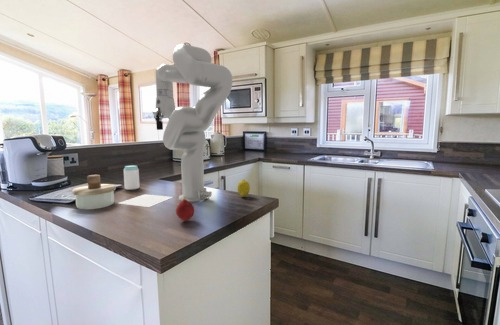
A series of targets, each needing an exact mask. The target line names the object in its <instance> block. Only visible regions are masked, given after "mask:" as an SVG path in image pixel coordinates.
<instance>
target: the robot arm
mask: <svg viewBox="0 0 500 325" xmlns="http://www.w3.org/2000/svg"><path fill="white" fill-rule="evenodd" d="M172 61H173V64H174V65H173V64H165V63H162V64H160V66H159V67H157V68H156V69H155V88H156V90H155V91H156V98H155V99H156V100H155V109H154V110H153V111H152V115H153V118H154V120H155V122H156V130H157V131H161V130H164V131H163V136H162V141H163V144H164V146H165V148H167V149H168V150H172V151H176V150H177V151H178V150H184V152H183V154H181V158H180V165H181V167H180V168H181V190H182V191H181V193H182V194H180V195H179V196H178V200H179V201H180V202H182V201H183V198H185V199H186V200H187V201H189V202H190V203H192V202H193V203H195V202H203V201H206V200H207V199H208V198H210V197H212V194H213V192H212V191H210V190H207V188H206V187H205V179H204V178H205V175H204V173H205V172H204V166H205V165H204V153H205V152H204V151H205V150H204V149H205V142H206V134H205V131H207V130H208V129H209V128H210V126H211V125H212V123H213V121H214V120H215V118H216V115H217V113H218V111H219V110H220V108H221V106H222V105H223V104H224V103H225V101H226V100H227V99H228V97H229V95H230V93H231V91H232V87H233V75H232V72H231V71H230V69H229V68H228V67H225V65H221V64H217V63H213V62H212V56H211V54H210V52H208V50H206V49H204V48H202V47H198V46H193V45H189V44H185V43H184V44H183V43H181V44H177V45H176V47H175V48H174V50H173V53H172ZM173 83H179V84H187V83H188V84H189V85H192V86H197V87H203V88H204V87H205V88H207V87H208V88H209V89H208V90H206V91H205V92H203V93H202V94H201V95H200V96H199V98H198V99H197V102H196V103H195V105H194V106H177V107H176V103H175V100H174V94H173V91H174V90H173ZM163 119H168V122H167V123H166V126H165V129H163V128H164V124H163V123H164V122H163Z"/></svg>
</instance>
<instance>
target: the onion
mask: <svg viewBox="0 0 500 325" xmlns="http://www.w3.org/2000/svg"><path fill="white" fill-rule="evenodd" d="M175 214H176V216H177V217H178V218H179V219H180V220H182V221H183V222H184V223H185V222H188V221H189V220H190V219H191V218H192V217H193V215H194V214H195V207H194V205H193V204H192V202H189V201H187V200H186V199H185V198H183V201H180V202H179V203H178V205H176V209H175Z"/></svg>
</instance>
